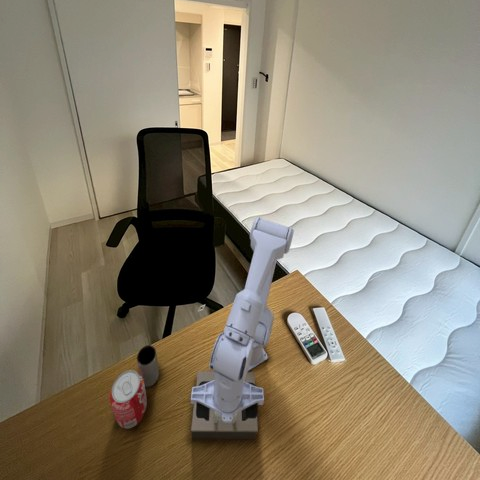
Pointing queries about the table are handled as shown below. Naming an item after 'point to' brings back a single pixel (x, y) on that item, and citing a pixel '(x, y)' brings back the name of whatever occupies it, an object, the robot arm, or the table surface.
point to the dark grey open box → (223, 435)
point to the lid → (216, 418)
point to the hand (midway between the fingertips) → (225, 414)
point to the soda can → (128, 399)
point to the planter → (148, 365)
